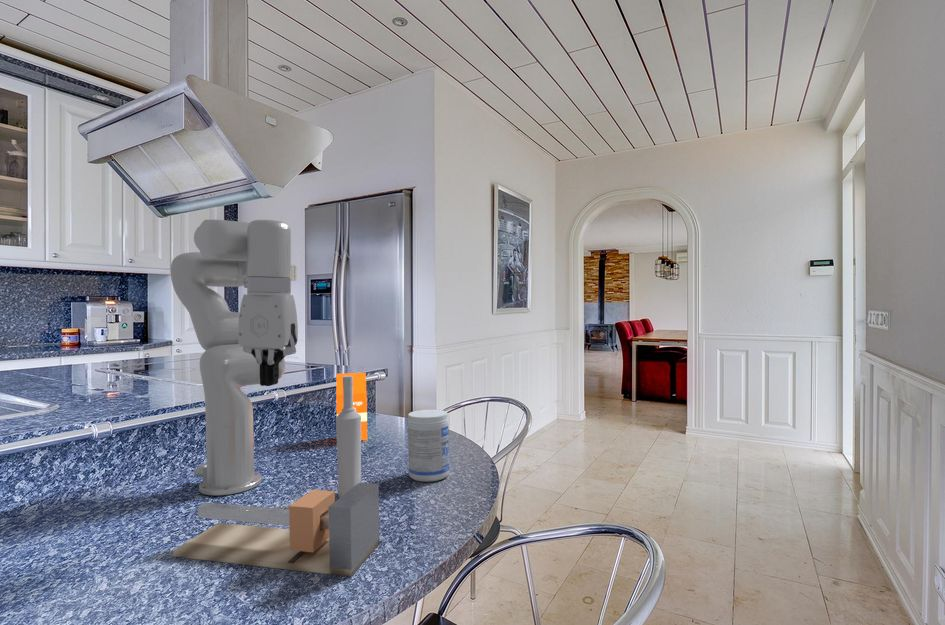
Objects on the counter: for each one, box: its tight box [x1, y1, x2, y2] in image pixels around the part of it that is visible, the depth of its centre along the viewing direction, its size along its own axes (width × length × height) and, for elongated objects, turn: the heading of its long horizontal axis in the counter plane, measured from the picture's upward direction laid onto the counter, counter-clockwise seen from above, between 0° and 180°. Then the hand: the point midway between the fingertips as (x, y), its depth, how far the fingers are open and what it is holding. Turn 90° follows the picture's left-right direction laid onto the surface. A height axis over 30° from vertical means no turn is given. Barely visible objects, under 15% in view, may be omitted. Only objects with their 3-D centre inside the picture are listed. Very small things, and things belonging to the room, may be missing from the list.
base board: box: [172, 522, 381, 578], centre depth 79 cm, size 31×10×1 cm, turn 77°
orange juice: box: [335, 372, 368, 441], centre depth 146 cm, size 8×9×20 cm
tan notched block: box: [288, 489, 336, 552], centre depth 77 cm, size 4×7×7 cm, turn 167°
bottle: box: [335, 376, 362, 498], centre depth 102 cm, size 5×5×25 cm
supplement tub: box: [407, 409, 450, 483], centre depth 113 cm, size 10×10×15 cm
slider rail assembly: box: [197, 482, 381, 578], centre depth 79 cm, size 30×10×10 cm, turn 77°
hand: (269, 384), depth 91 cm, fingers closed
